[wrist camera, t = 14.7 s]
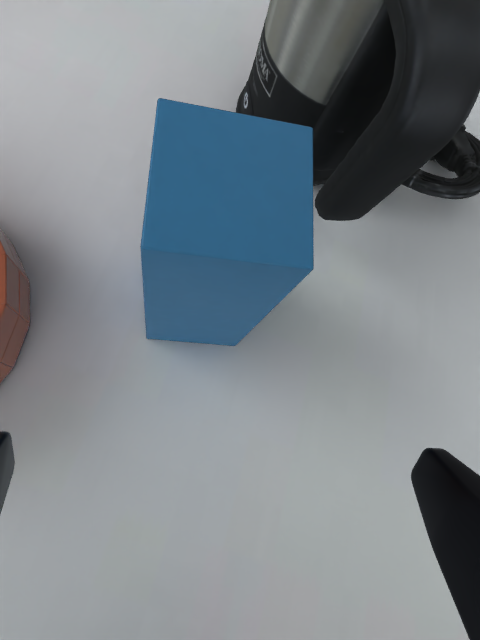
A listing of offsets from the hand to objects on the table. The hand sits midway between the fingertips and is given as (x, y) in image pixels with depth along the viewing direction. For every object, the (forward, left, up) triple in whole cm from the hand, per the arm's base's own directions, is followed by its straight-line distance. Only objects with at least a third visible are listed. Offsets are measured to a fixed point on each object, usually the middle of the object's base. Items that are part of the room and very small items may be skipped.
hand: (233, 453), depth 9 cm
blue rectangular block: (+6, -5, -13) cm, 15 cm away
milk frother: (+9, -21, -14) cm, 26 cm away
